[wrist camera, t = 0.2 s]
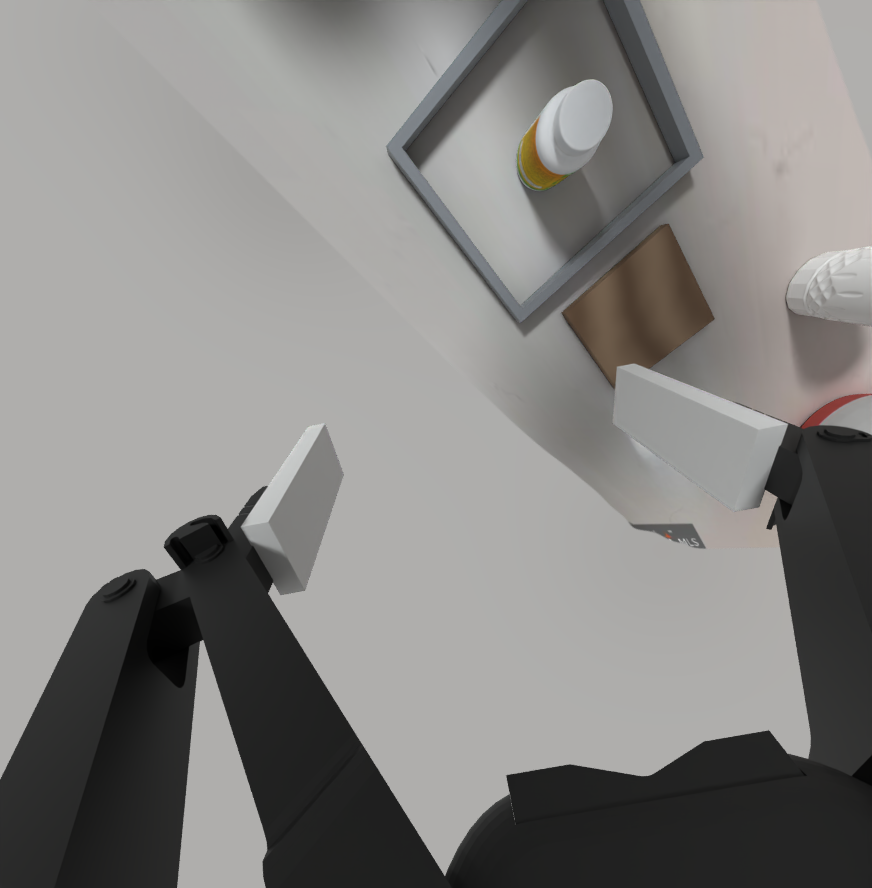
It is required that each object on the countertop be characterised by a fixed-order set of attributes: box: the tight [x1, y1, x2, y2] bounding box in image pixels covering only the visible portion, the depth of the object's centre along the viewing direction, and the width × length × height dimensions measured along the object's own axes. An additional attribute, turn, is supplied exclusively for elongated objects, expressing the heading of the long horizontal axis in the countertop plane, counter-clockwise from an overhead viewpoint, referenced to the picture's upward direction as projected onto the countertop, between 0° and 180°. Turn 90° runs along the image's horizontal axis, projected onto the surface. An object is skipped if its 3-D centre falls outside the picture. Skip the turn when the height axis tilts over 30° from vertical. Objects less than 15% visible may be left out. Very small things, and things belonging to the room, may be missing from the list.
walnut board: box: [562, 224, 715, 389], centre depth 40 cm, size 13×13×1 cm
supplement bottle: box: [516, 79, 613, 191], centre depth 29 cm, size 5×5×10 cm
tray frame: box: [386, 0, 703, 323], centre depth 32 cm, size 22×21×2 cm
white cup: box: [786, 246, 872, 327], centre depth 35 cm, size 8×8×10 cm
